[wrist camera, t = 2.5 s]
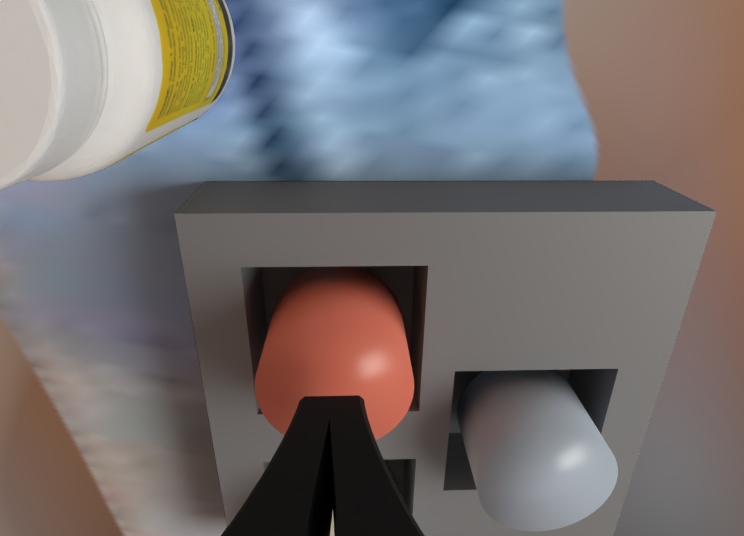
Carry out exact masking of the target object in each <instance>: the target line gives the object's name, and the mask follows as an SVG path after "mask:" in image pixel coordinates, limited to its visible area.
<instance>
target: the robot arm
mask: <svg viewBox="0 0 744 536" xmlns="http://www.w3.org/2000/svg"><path fill="white" fill-rule="evenodd" d="M332 513H333V518H334V534H335V536H424V534H423V532H422V531H421V529H420V528H419V526H418V524H417V523H416V521H415V519H414V518H413V516H412V514H411V512H410V511H409V509H408V507H407V505H406V503H405V502H404V500H403V498H402V496H401V494H400V492H399V490H398V488H397V487H396V485H395V483H394V481H393V479H392V477H391V475H390V472H389V470H388V468H387V466H386V464H385V461H384V459H383V457H382V455H381V452H380V450H379V448H378V445H377V443H376V440H375V438H374V435H373V432H372V429H371V426H370V423H369V420H368V416H367V413H366V408H365V403H364V399H363V398H362V397H361V396H359V395H353V396H304V397H303V398H302V399H301V400H300V401H299V404H298V406H297V409H296V412H295V414H294V416H293V419H292V421H291V423H290V425H289V427H288V429H287V431H286V433H285V435H284V437H283V439H282V441H281V443H280V445H279V447H278V448H277V450H276V452H275V454H274V456H273V457H272V459H271V461H270V463H269V464H268V466H267V468H266V470H265V471H264V473H263V475H262V476H261V478H260V479H259V481H258V483H257V484H256V486H255V487H254V489H253V490H252V492H251V493H250V495H249V496H248V498H247V500H246V501H245V503H244V504H243V506H242V507H241V509H240V510H239V512H238V513H237V514H236V516H235V517H234V519H233V520H232V521H231V523H230V524H229V526H228V527H227V528H226V530H225V531H224V532H223V534H222V535H221V536H330V530H331V522H332Z"/></svg>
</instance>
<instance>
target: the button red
mask: <svg viewBox="0 0 744 536" xmlns="http://www.w3.org/2000/svg"><path fill="white" fill-rule="evenodd" d="M255 394H256V399H257V402H258V405H259V407H260V409H261V411H262V413H263V415H264V416H265V418H266V419H267V420H268V422H269V423H270V424H271V425H272V426H273V427H274V428H275V429H277V430H278V431H279V432H280V433H282V434H283V435H285V433H286V431H287V429H288V427H289V425H290V423H291V421H292V419H293V416H294V414H295V412H296V409H297V406H298V404H299V401H300V400H301V399H302V398H303V397H304V396H353V395H359V396H361V397H362V398H363V399H364V403H365V408H366V413H367V416H368V420H369V423H370V426H371V429H372V432H373V435H374V438H375V440H377V439H379V438H381V437H383V436H384V435H386V434H387V433H389V432H390V431H391V430H392V429H394V428H395V427H396V426H397V425H398V424H399V423H400V422H401V420H402V419H403V418H404V416H405V415H406V413H407V411H408V409H409V407H410V405H411V402H412V399H413V394H414V377H413V372H412V366H411V361H410V356H409V350H408V345H407V339H406V334H405V328H404V323H403V317H402V312H401V307H400V304H399V302H398V299H397V298H396V296H395V294H394V293H393V291H392V290H391V288H390V287H389V286H388V285H387V284H386V283H385V282H384V281H383V280H381V279H380V278H379V277H377V276H376V275H374V274H372V273H371V272H368V271H366V270H364V269H361V268H357V267H354V266H335V267H317V268H314V269H311V270H309V271H307V272H304V273H302V274H301V275H299V276H298V277H296V278H295V279H294V280H292V281H291V282H290V283H289V284H288V285H287V286H286V287H285V288H284V290H283V291H282V293H281V294H280V296H279V298H278V300H277V302H276V305H275V308H274V312H273V315H272V319H271V322H270V326H269V330H268V333H267V337H266V340H265V344H264V347H263V351H262V355H261V358H260V362H259V365H258V369H257V372H256V377H255Z"/></svg>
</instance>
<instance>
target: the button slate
mask: <svg viewBox="0 0 744 536" xmlns="http://www.w3.org/2000/svg"><path fill="white" fill-rule="evenodd" d="M457 419H458V424H459V427H460V431H461V435H462V438H463V442H464V445H465V449H466V453H467V456H468V460H469V463H470V467H471V471H472V474H473V478H474V481H475V485H476V489H477V492H478V496H479V499H480V502H481V505H482V507H483V509H484V510H485V511H486V513H487V514H488V515H489V516H490V517H491V518H492V519H494V520H495V521H497V522H498V523H500V524H502V525H504V526H506V527H509V528H512V529H517V530H522V531H548V530H554V529H558V528H562V527H565V526H568V525H571V524H574V523H576V522H578V521H580V520H582V519H584V518H586V517H587V516H589V515H590V514H592V513H593V512H595V511H596V510H597V509H598V508H599V507H600V506H601V505H602V504H603V503H604V502H605V501H606V500H607V499H608V497H609V496H610V495H611V493H612V491H613V489H614V487H615V484H616V482H617V477H618V466H617V462H616V459H615V456H614V455H613V453H612V451H611V450H610V448H609V446H608V445H607V443H606V442H605V440H604V439H603V437H602V435H601V434H600V432H599V431H598V429H597V427H596V426H595V424H594V423H593V421H592V419H591V418H590V416H589V415H588V413H587V411H586V410H585V408H584V407H583V405H582V403H581V402H580V400H579V399H578V397H577V395H576V394H575V392H574V391H573V389H572V387H571V386H570V384H569V383H568V381H567V379H566V378H565V377H564V376H563V375H562V374H561V373H560V372H559V371H558V370H507V371H484V372H482V373H481V374H479V375H478V376H477V377H475V378H474V379H473V380H472V381H471V382H470V383H469V384H468V385H467V387H466V388H465V390H464V391H463V393H462V395H461V397H460V399H459V402H458V406H457Z"/></svg>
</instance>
